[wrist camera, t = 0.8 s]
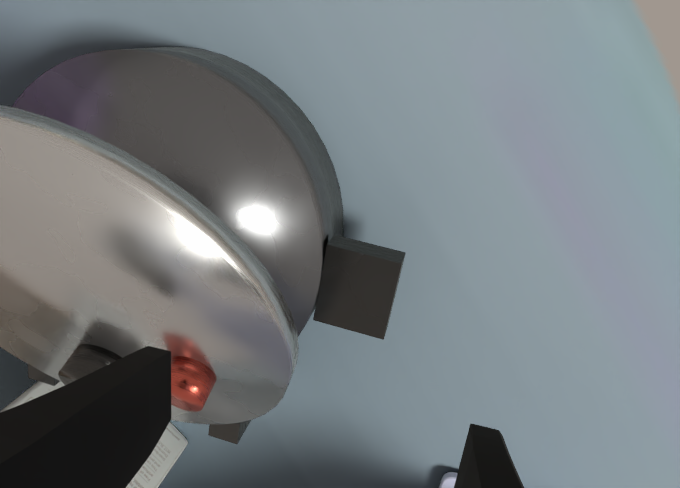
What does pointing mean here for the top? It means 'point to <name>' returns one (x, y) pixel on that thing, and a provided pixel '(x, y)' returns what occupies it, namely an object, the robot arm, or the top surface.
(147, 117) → the cooker pot
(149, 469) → the supplement box
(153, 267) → the cooker lid
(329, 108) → the top surface
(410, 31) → the top surface
